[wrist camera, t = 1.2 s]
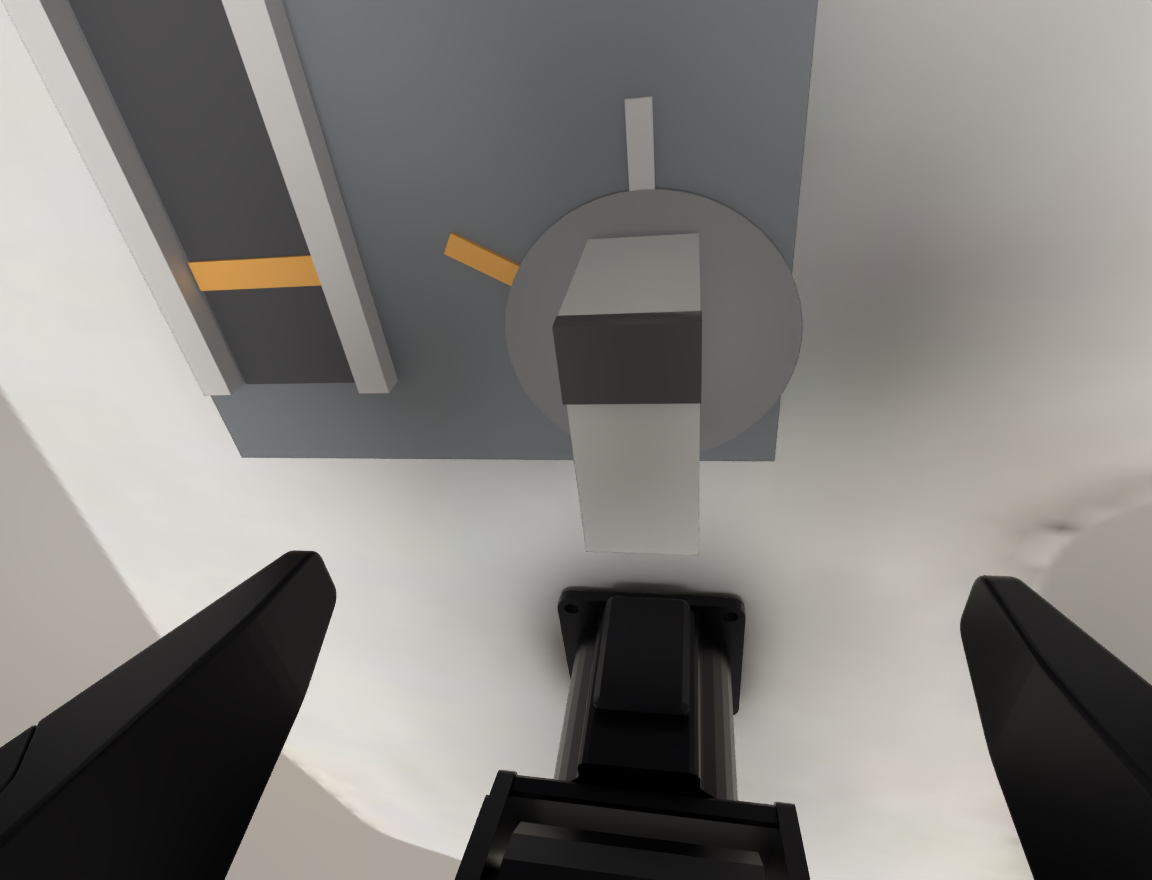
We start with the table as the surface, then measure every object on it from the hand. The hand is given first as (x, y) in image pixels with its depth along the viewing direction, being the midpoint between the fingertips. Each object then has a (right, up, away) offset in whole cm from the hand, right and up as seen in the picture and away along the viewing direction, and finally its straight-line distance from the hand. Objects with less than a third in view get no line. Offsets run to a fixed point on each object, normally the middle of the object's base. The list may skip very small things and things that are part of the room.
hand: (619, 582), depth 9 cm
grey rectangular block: (+1, +4, +5) cm, 7 cm away
